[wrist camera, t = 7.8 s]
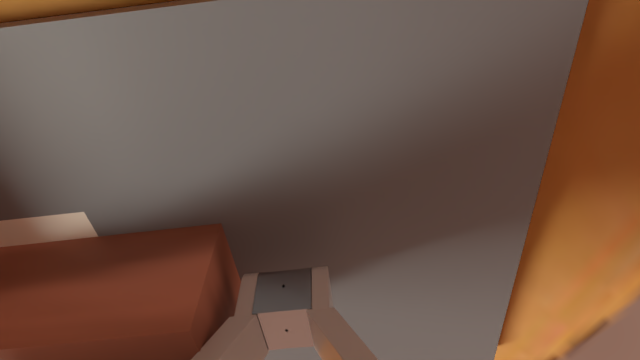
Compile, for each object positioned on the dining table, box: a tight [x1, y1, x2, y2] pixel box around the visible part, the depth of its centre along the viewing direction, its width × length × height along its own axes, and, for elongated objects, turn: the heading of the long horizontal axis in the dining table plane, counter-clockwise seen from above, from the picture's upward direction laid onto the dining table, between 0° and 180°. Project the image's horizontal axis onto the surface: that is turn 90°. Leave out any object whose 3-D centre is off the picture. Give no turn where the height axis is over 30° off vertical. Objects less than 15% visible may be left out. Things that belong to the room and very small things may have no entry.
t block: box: [0, 223, 241, 360], centre depth 12 cm, size 14×13×4 cm
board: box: [0, 0, 589, 360], centre depth 14 cm, size 17×32×1 cm, turn 96°
